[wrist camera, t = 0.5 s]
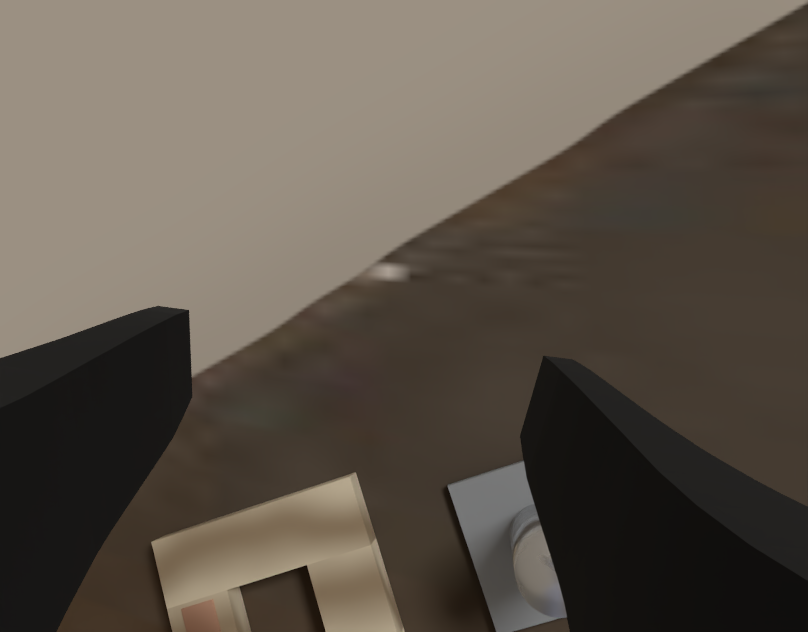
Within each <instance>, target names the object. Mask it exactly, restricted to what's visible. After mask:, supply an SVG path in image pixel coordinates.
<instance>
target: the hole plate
mask: <svg viewBox="0 0 808 632" xmlns="http://www.w3.org/2000/svg"><path fill="white" fill-rule="evenodd" d="M151 543H152V547H153V551H154V555H155V560H156V564H157V568H158V572H159V577H160V581H161V585H162V590H163V594H164V598H165V602H166V607H167V611H168V615H169V620H170V624H171V628H172V632H251V629H250V625H249V621H248V618H247V614H246V610H245V606H244V602H243V598H242V594H241V590H240V587H239V586H242V585H245V584H248V583H251V582H255V581H258V580H261V579H264V578H267V577H271V576H274V575H277V574H280V573H283V572H286V571H290V570H293V569H296V568H299V567H302V566H306V565H307V567H308V571H309V574H310V578H311V581H312V585H313V588H314V592H315V596H316V599H317V603H318V606H319V610H320V613H321V617H322V620H323V624H324V627H325V631H326V632H405V631H404V628H403V625H402V621H401V618H400V615H399V612H398V608H397V605H396V602H395V599H394V595H393V592H392V589H391V586H390V582H389V579H388V576H387V573H386V569H385V566H384V563H383V560H382V556H381V553H380V550H379V546H378V543H377V540H376V537H375V533H374V530H373V527H372V524H371V520H370V517H369V514H368V511H367V507H366V504H365V501H364V498H363V494H362V491H361V488H360V485H359V481H358V478H357V475H356V472H355V473H352V474H349V475H346V476H343V477H340V478H337V479H334V480H331V481H328V482H325V483H322V484H319V485H316V486H313V487H310V488H307V489H304V490H301V491H298V492H295V493H292V494H289V495H285V496H282V497H279V498H276V499H273V500H270V501H267V502H264V503H261V504H258V505H255V506H252V507H249V508H246V509H243V510H240V511H237V512H234V513H231V514H228V515H225V516H222V517H219V518H216V519H213V520H210V521H207V522H204V523H201V524H198V525H195V526H192V527H189V528H186V529H183V530H180V531H177V532H173V533H170V534H167V535H165V536H163V537H161V538H158V539H156V540H154V541H152V542H151Z"/></svg>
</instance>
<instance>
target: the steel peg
mask: <svg viewBox="0 0 808 632" xmlns="http://www.w3.org/2000/svg"><path fill="white" fill-rule="evenodd" d="M509 539H510V545H511V552H512V558H513V565H514V571H515V578H516V583H517V586H518V588H519V591H520V593H521V594H522V596H523V598H524V599H525V600H526V602H527V603H528V604H529V605H530V606H532V607H533V608H534V609H535V610H537V611H538V612H540V613H542V614H544V615H547V616H550V617H555V618H567V614H566V609H565V605H564V601H563V597H562V593H561V589H560V586H559V582H558V578H557V575H556V572H555V569H554V565H553V562H552V559H551V556H550V553H549V549H548V546H547V543H546V540H545V537H544V533H543V530H542V527H541V524H540V521H539V518H538V514H537V511H536V508H535V504H531V505H529V506H526V507H525V508H523V509H522V510H520V511H519V512H518V513H517V515H516V516H515V517H514V519H513V521H512V523H511V526H510V532H509Z"/></svg>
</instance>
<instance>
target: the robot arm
mask: <svg viewBox="0 0 808 632" xmlns="http://www.w3.org/2000/svg"><path fill="white" fill-rule="evenodd" d="M191 398H192V377H191V354H190V328H189V310H184V309H176V308H168V307H161V306H156V307H152V308H148V309H144V310H140V311H137V312H134V313H131V314H128V315H125V316H122V317H120V318H117V319H114V320H111V321H108V322H106V323H103V324H100V325H97V326H95V327H92V328H89V329H86V330H83V331H81V332H78V333H75V334H72V335H70V336H67V337H64V338H61V339H58V340H55V341H52V342H49V343H46V344H43V345H40V346H37V347H34V348H30V349H27V350H24V351H21V352H19V353H15V354H12V355H9V356H6V357H3V358H0V632H56V631H57V629H58V627H59V625H60V623H61V621H62V619H63V617H64V615H65V613H66V611H67V609H68V607H69V605H70V603H71V602H72V600H73V598H74V596H75V594H76V592H77V590H78V588H79V586H80V585H81V583H82V581H83V579H84V577H85V575H86V573H87V571H88V569H89V568H90V566H91V564H92V562H93V560H94V558H95V556H96V555H97V553H98V551H99V550H100V548H101V546H102V545H103V543H104V541H105V540H106V538H107V537H108V535H109V533H110V532H111V530H112V529H113V527H114V526H115V524H116V523H117V521H118V520H119V518H120V517H121V515H122V514H123V512H124V511H125V509H126V508H127V506H128V505H129V503H130V502H131V500H132V499H133V497H134V496H135V494H136V493H137V491H138V490H139V488H140V487H141V485H142V484H143V482H144V481H145V479H146V478H147V476H148V475H149V473H150V472H151V470H152V469H153V467H154V466H155V464H156V463H157V461H158V460H159V458H160V457H161V455H162V454H163V452H164V451H165V449H166V448H167V446H168V444H169V443H170V441H171V440H172V438H173V436H174V434H175V432H176V430H177V428H178V426H179V424H180V422H181V420H182V418H183V416H184V414H185V411H186V409H187V407H188V405H189V403H190V400H191ZM520 438H521V445H522V452H523V459H524V465H525V471H526V477H527V481H528V484H529V488H530V491H531V495H532V498H533V501H534V504H535V508H536V511H537V514H538V518H539V521H540V524H541V527H542V530H543V533H544V537H545V540H546V543H547V546H548V549H549V553H550V556H551V559H552V562H553V565H554V569H555V572H556V575H557V578H558V582H559V586H560V589H561V593H562V597H563V601H564V605H565V609H566V614H567V619H568V624H569V629H570V632H808V507H807V506H805V505H803V504H801V503H799V502H797V501H795V500H793V499H791V498H789V497H787V496H785V495H783V494H781V493H779V492H777V491H775V490H773V489H771V488H769V487H767V486H765V485H764V484H762V483H760V482H758V481H756V480H754V479H753V478H751V477H749V476H747V475H746V474H744V473H742V472H740V471H739V470H737V469H735V468H733V467H732V466H730V465H728V464H726V463H725V462H723V461H721V460H719V459H718V458H716V457H714V456H713V455H711V454H709V453H708V452H706V451H705V450H703V449H701V448H700V447H698V446H697V445H695V444H694V443H692V442H691V441H689V440H688V439H686V438H685V437H683V436H682V435H680V434H679V433H677V432H675V431H674V430H672V429H671V428H669V427H668V426H667V425H665V424H664V423H662V422H661V421H659V420H658V419H657V418H655V417H654V416H652V415H651V414H649V413H648V412H647V411H645V410H644V409H643V408H641V407H640V406H638V405H637V404H636V403H634V402H633V401H632V400H630V399H629V398H628V397H626V396H625V395H623V394H622V393H621V392H619V391H618V390H617V389H615V388H614V387H613V386H611V385H610V384H609V383H607V382H606V381H605V380H603V379H602V378H600V377H599V376H598V375H596V374H595V373H593V372H592V371H591V370H589V369H588V368H586V367H585V366H583V365H581V364H580V363H578V362H576V361H574V360H572V359H565V358H557V357H549V356H543V360H542V363H541V366H540V370H539V373H538V377H537V380H536V383H535V387H534V390H533V394H532V397H531V401H530V404H529V407H528V411H527V414H526V418H525V421H524V425H523V428H522V431H521V435H520Z"/></svg>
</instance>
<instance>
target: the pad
mask: <svg viewBox="0 0 808 632" xmlns="http://www.w3.org/2000/svg"><path fill="white" fill-rule="evenodd" d="M448 489H449V492H450V495H451V498H452V501H453V504H454V507H455V510H456V513H457V516H458V519H459V522H460V525H461V528H462V531H463V534H464V537H465V540H466V543H467V546H468V549H469V552H470V555H471V558H472V560H473V563H474V566H475V569H476V572H477V575H478V578H479V581H480V584H481V587H482V590H483V593H484V596H485V599H486V602H487V605H488V608H489V611H490V614H491V617H492V620H493V623H494V626H495V629H496V632H513V631H517V630H520V629H524V628H527V627H531V626H534V625H538V624H541V623H545V622H548V621H552V620H555V619H559V618H555V617H550V616H547V615H544V614H542V613H540V612H538V611H537V610H535V609H534V608H533V607H532V606H530V605H529V604H528V603H527V602H526V600H525V599H524V598H523V596H522V594H521V593H520V591H519V588H518V586H517V583H516V578H515V571H514V565H513V558H512V552H511V545H510V539H509V532H510V526H511V523H512V521H513V519H514V517H515V516H516V515H517V513H518V512H519V511H520V510H522V509H523V508H525V507H526V506H529V505H531V504H534V501H533V498H532V495H531V491H530V488H529V484H528V481H527V477H526V471H525V465H524V460H523V461H520V462H517V463H514V464H511V465H508V466H504V467H501V468H498V469H495V470H492V471H489V472H486V473H483V474H480V475H476V476H473V477H470V478H467V479H464V480H461V481H458V482H455V483H451V484H448Z"/></svg>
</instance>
